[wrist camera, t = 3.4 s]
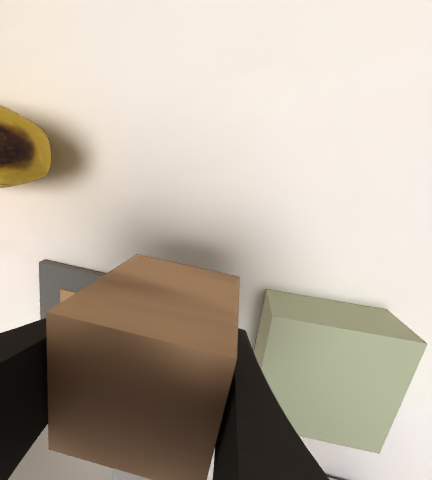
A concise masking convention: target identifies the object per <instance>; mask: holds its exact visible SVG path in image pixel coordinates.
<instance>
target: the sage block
mask: <svg viewBox="0 0 432 480" xmlns="http://www.w3.org/2000/svg"><path fill="white" fill-rule="evenodd" d="M426 346H427V343H426V342H425V341H424V340H422V339H421V338H420V337H419V336H418V335H417V334H415V333H414V332H413V331H412V330H411V329H409V328H408V327H407V326H406V325H405V324H404V323H402V322H401V321H400V320H399V319H398V318H396V317H395V316H394V315H393V314H392V313H391V312H389V311H388V310H387V309H381V308H375V307H369V306H363V305H357V304H351V303H345V302H339V301H333V300H327V299H321V298H315V297H309V296H303V295H297V294H291V293H285V292H280V291H274V290H268V289H266V293H265V298H264V303H263V308H262V313H261V318H260V323H259V328H258V333H257V337H256V342H255V347H254V354H255V356H256V359H257V361H258V363H259V365H260V368H261V370H262V372H263V374H264V376H265V378H266V380H267V382H268V384H269V386H270V388H271V390H272V392H273V394H274V395H275V397H276V399H277V401H278V403H279V405H280V406H281V408H282V410H283V411H284V413H285V415H286V416H287V418H288V420H289V421H290V423H291V425H292V426H293V428H294V429H295V431H296V432H297V434H298V435H299V436H302V437H306V438H311V439H315V440H320V441H324V442H329V443H334V444H338V445H343V446H347V447H352V448H356V449H361V450H365V451H370V452H374V453H380V451H381V449H382V446H383V444H384V442H385V440H386V437H387V435H388V433H389V430H390V428H391V426H392V424H393V421H394V419H395V417H396V414H397V412H398V410H399V408H400V405H401V403H402V401H403V398H404V396H405V394H406V392H407V389H408V387H409V385H410V382H411V380H412V378H413V376H414V373H415V371H416V369H417V367H418V364H419V362H420V360H421V357H422V355H423V353H424V351H425V348H426Z"/></svg>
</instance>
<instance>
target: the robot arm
mask: <svg viewBox="0 0 432 480" xmlns="http://www.w3.org/2000/svg"><path fill="white" fill-rule="evenodd" d="M47 424H48V385H47V332H46V318H44V319H41V320H39V321H36V322H33V323H30V324H27V325H24V326H21V327H18V328H15V329H12V330H9V331H6V332H3V333H0V480H8V478H9V477H10V476H11V474H12V473H13V471H14V470H15V468H16V467H17V465H18V464H19V462H20V461H21V460H22V458H23V457H24V456H25V454H26V453H27V451H28V450H29V449H30V447H31V446H32V444H33V443H34V442H35V440H36V439H37V437H38V436H39V435H40V433H41V432H42V431H43V429H44V428H45V427H46V425H47ZM213 480H337V479H333V478H329V477H327V475H326V474H325V473H324V471H323V470H322V468H321V467H320V466H319V464H318V463H317V461H316V460H315V459H314V457H313V456H312V455H311V453H310V452H309V450H308V449H307V448H306V446H305V445H304V443H303V442H302V440H301V438H300V437H299V435H298V434H297V432H296V431H295V429H294V428H293V426H292V425H291V423H290V421H289V420H288V418H287V416H286V415H285V413H284V411H283V410H282V408H281V406H280V405H279V403H278V401H277V399H276V397H275V395H274V394H273V392H272V390H271V388H270V386H269V384H268V382H267V380H266V378H265V376H264V374H263V372H262V370H261V368H260V365H259V363H258V361H257V359H256V356H255V354H254V352H253V349H252V347H251V344H250V341H249V339H248V336H247V333H246V331H245V330H243V329H238V343H237V361H236V365H235V369H234V373H233V377H232V381H231V385H230V389H229V393H228V397H227V401H226V404H225V408H224V412H223V416H222V420H221V424H220V428H219V432H218V436H217V440H216V444H215V457H214V471H213Z"/></svg>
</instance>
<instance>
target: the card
mask: <svg viewBox="0 0 432 480" xmlns="http://www.w3.org/2000/svg"><path fill="white" fill-rule="evenodd" d="M105 274H106V273H101V272H97V271H93V270H88V269H84V268H79V267H75V266H71V265H66V264H62V263H58V262H53V261H49V260H43V261H40V262H39V282H40V315H41V319H44V318H46V312H47V311H48V310H50V309H52V308H53V307H55V306H56V305H58V304H59V303H61V302H63V301H64V300H66V299H67V298H69V297H71V296H72V295H74V294H75V293H77V292H78V291H80V290H82V289H83V288H85V287H86V286H88V285H89V284H91V283H93V282H94V281H96V280H97V279H99V278H101V277H102V276H104V275H105Z"/></svg>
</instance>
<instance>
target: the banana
mask: <svg viewBox="0 0 432 480" xmlns="http://www.w3.org/2000/svg"><path fill="white" fill-rule="evenodd" d="M50 165H51V149H50V144H49V140H48V138H47V136H46V134H45V133H44V132H43V130H42V129H40V128H39V127H38V126H37V125H35V124H34V123H32V122H30V121H29V120H27V119H25V118H24V117H22V116H20V115H19V114H17V113H15V112H13V111H11V110H9V109H7V108H6V107H4V106H2V105H0V188H4V187H11V186H16V185H20V184H24V183H27V182H31V181H34V180H37V179H40V178H42V177H44V176H46V175H47V174H48V172H49V170H50Z"/></svg>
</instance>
